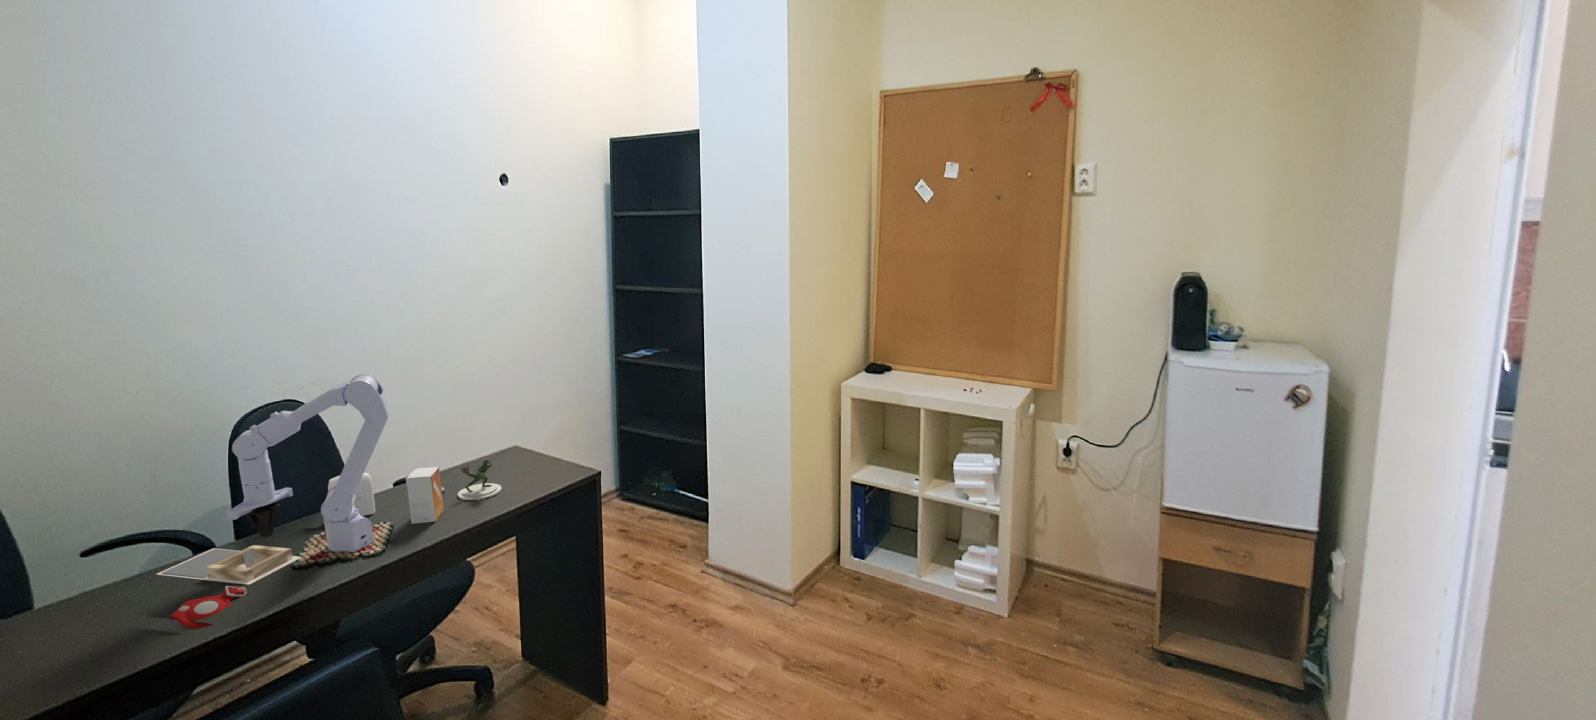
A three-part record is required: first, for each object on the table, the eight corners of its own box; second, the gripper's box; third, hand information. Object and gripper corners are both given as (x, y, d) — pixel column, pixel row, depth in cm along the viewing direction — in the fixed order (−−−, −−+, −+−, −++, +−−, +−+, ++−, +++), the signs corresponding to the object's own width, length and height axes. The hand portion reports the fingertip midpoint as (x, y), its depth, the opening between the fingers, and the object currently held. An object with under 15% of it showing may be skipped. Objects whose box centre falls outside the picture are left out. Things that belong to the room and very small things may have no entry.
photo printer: (375, 509, 196) (370, 467, 193) (376, 514, 192) (370, 472, 190) (332, 518, 190) (325, 475, 188) (332, 523, 186) (325, 480, 184)
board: (302, 562, 165) (299, 541, 163) (250, 590, 152) (246, 567, 151) (214, 553, 170) (210, 533, 169) (157, 580, 157) (152, 558, 156)
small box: (436, 521, 187) (431, 476, 184) (411, 524, 185) (404, 478, 183) (444, 510, 194) (439, 466, 192) (420, 512, 193) (414, 468, 190)
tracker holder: (218, 623, 138) (159, 618, 136) (219, 639, 140) (161, 635, 137) (252, 581, 149) (199, 576, 147) (253, 596, 151) (200, 592, 148)
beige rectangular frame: (292, 558, 164) (291, 548, 163) (248, 581, 153) (246, 571, 153) (254, 554, 166) (253, 545, 165) (208, 577, 155) (206, 567, 155)
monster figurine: (498, 498, 202) (495, 465, 200) (454, 503, 199) (450, 469, 197) (504, 483, 214) (500, 452, 212) (462, 488, 210) (458, 456, 208)
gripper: (272, 469, 168) (280, 521, 171) (211, 491, 154) (222, 548, 157) (296, 471, 167) (304, 523, 169) (237, 493, 153) (247, 550, 155)
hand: (266, 535), depth 163 cm, fingers closed
